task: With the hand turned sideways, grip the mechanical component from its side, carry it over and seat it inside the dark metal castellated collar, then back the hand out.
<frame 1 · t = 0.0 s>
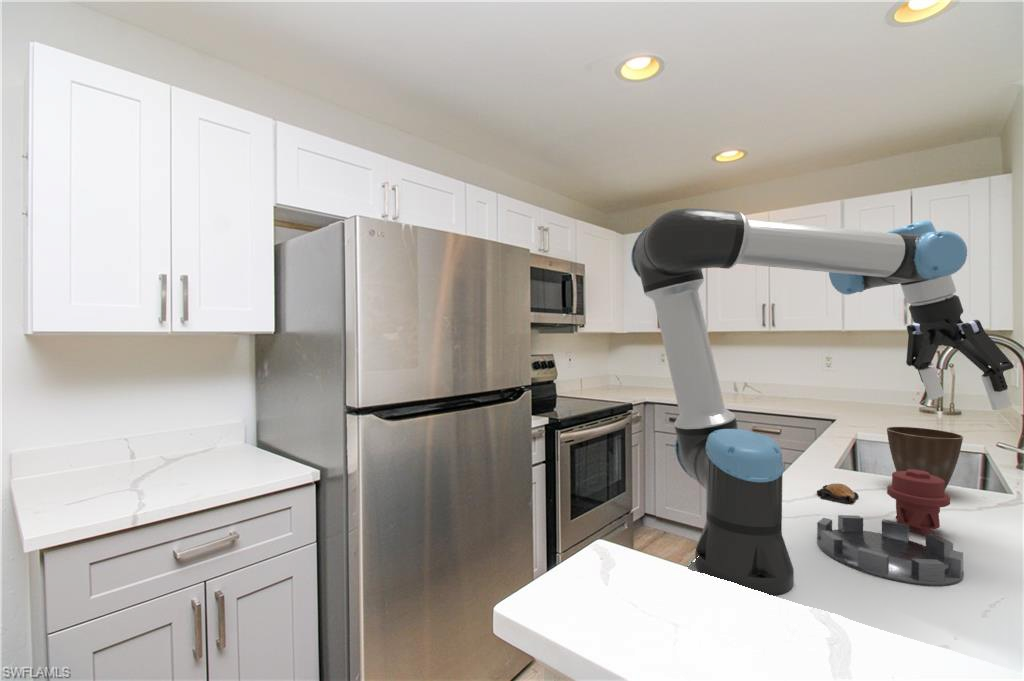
hand: (967, 402, 91), 28 cm above the counter, tool tilted 20°, fingers open, 13 cm apart
bread roll: (837, 499, 119), on the counter
castellated collar: (884, 555, 86), on the counter
plant pot: (922, 493, 122), on the counter
mechanical component: (917, 531, 98), on the counter
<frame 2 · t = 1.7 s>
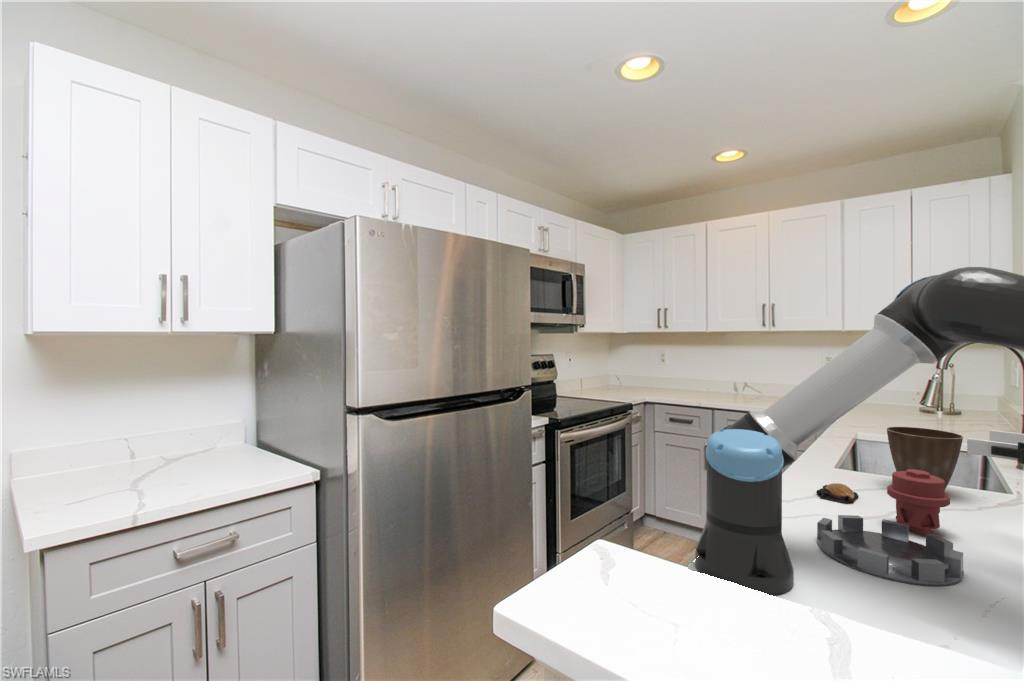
hand: (979, 441, 90), 21 cm above the counter, tool horizontal, fingers open, 13 cm apart
nothing on the counter moved.
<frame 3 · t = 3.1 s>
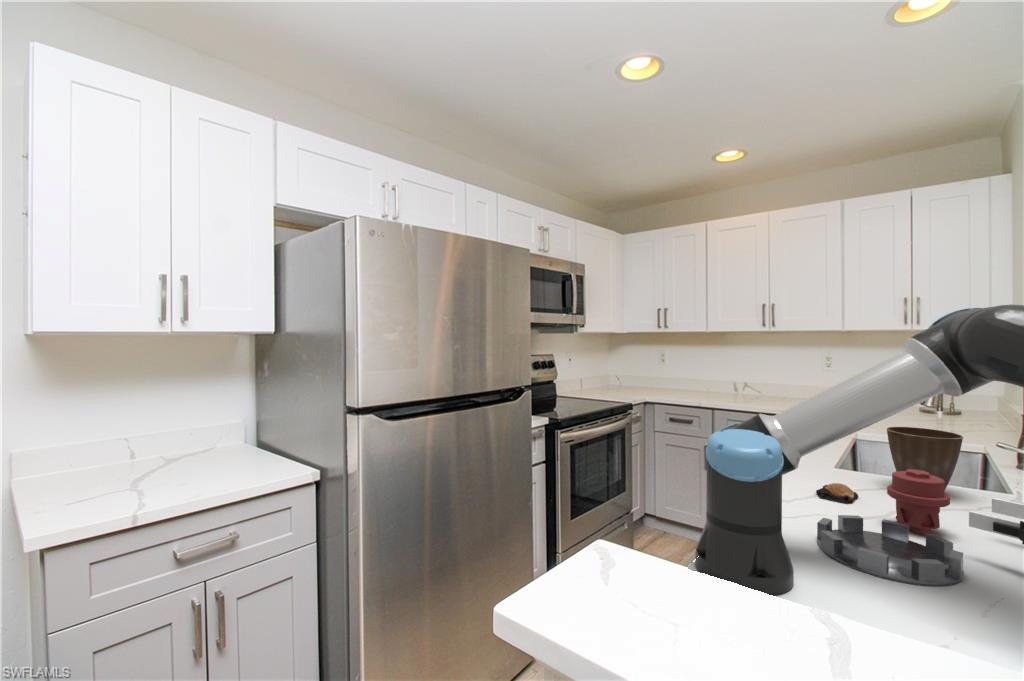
hand: (981, 511, 90), 7 cm above the counter, tool horizontal, fingers open, 13 cm apart
nothing on the counter moved.
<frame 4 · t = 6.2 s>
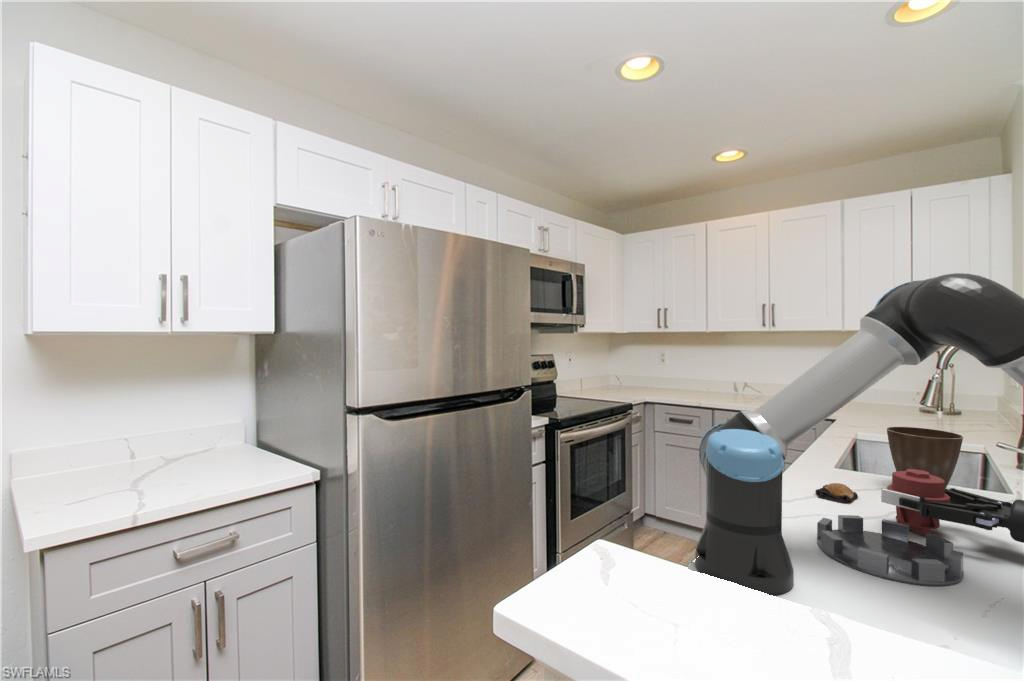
hand: (892, 490, 102), 7 cm above the counter, tool horizontal, fingers closed on mechanical component, 10 cm apart
mechanical component: (917, 530, 98), on the counter, touching gripper
everything else where it was.
when the fingers open (9 cm above the counter, at t = 12.5 s): mechanical component drops 1 cm, resting on castellated collar.
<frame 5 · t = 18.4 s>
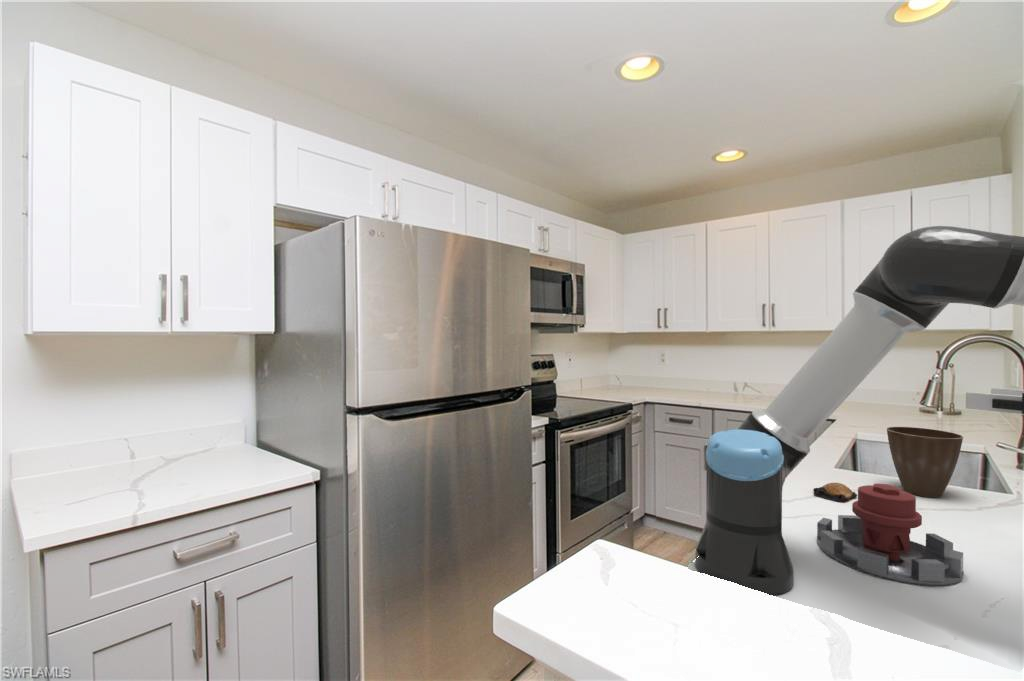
hand: (979, 397, 82), 30 cm above the counter, tool horizontal, fingers open, 13 cm apart
mechanical component: (885, 554, 86), resting on castellated collar
everything else where it was.
at the end: mechanical component 0.1 cm off-centre on the castellated collar, point 0.4 cm above the castellated collar's base; mechanical component tilted 0°; the gripper is holding nothing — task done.
